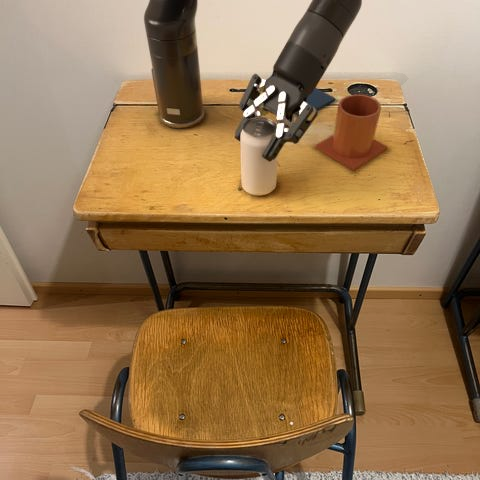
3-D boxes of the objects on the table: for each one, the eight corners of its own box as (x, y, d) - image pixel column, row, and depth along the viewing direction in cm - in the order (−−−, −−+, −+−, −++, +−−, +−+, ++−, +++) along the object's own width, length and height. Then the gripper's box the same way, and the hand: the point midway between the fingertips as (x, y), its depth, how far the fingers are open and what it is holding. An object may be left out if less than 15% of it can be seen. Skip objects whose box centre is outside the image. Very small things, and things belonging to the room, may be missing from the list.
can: (239, 195, 85) (237, 136, 75) (243, 173, 88) (242, 114, 78) (274, 198, 84) (277, 139, 74) (277, 175, 88) (280, 116, 78)
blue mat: (270, 99, 103) (270, 96, 102) (302, 83, 106) (303, 80, 106) (302, 118, 98) (303, 115, 98) (335, 100, 102) (335, 98, 101)
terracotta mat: (315, 147, 92) (315, 145, 92) (349, 128, 96) (349, 125, 95) (353, 171, 88) (354, 168, 87) (387, 149, 91) (388, 147, 91)
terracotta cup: (323, 148, 92) (330, 105, 85) (349, 132, 95) (357, 89, 88) (352, 165, 89) (361, 122, 81) (378, 149, 91) (389, 106, 84)
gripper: (265, 26, 73) (212, 123, 79) (332, 58, 67) (269, 162, 72) (287, 50, 80) (237, 139, 85) (350, 82, 73) (291, 176, 79)
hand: (252, 149), depth 79 cm, fingers closed on can, 6 cm apart
